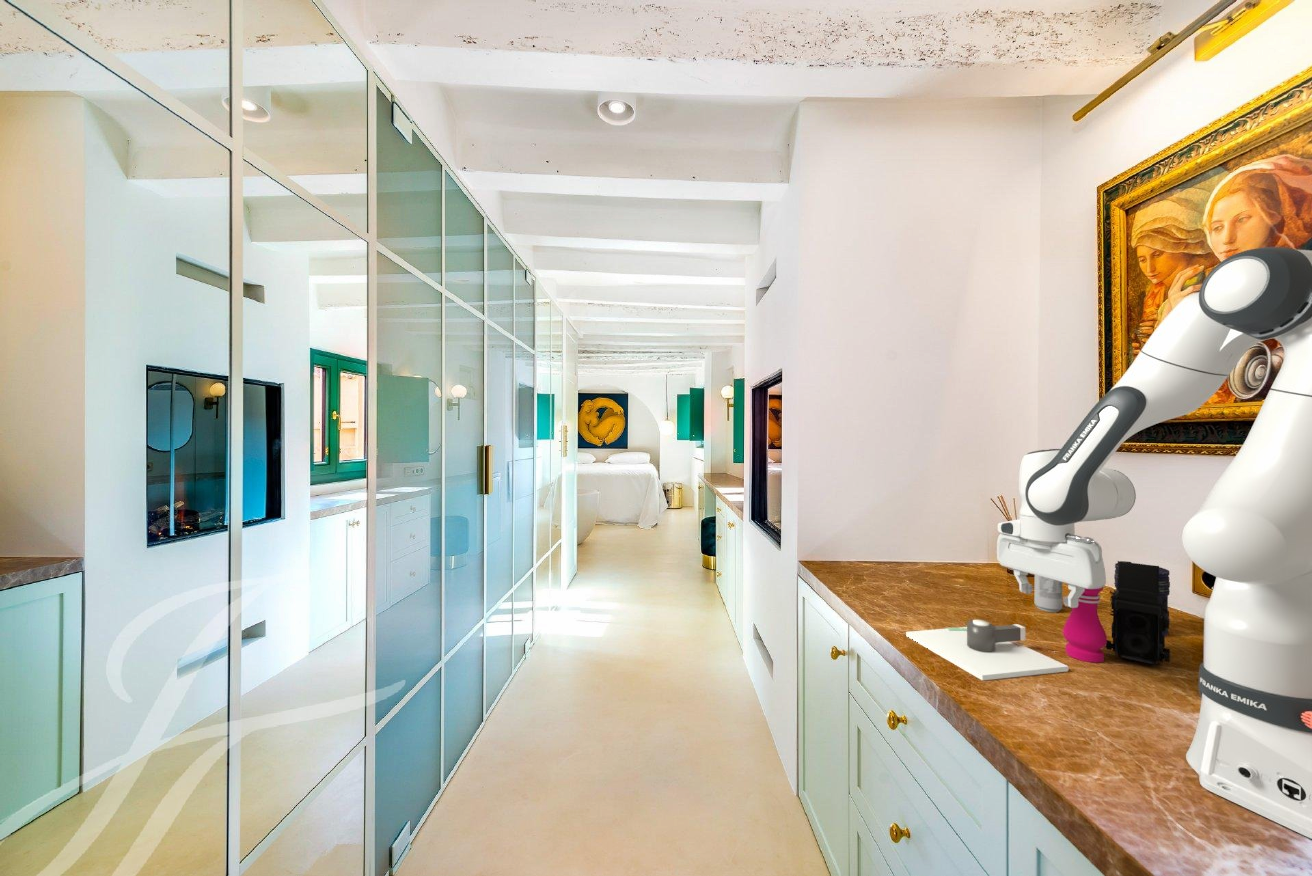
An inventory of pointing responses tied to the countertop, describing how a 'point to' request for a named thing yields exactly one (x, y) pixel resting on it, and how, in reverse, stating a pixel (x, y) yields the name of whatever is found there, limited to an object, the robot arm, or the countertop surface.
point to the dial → (991, 634)
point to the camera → (1138, 615)
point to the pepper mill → (1085, 629)
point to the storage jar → (1163, 589)
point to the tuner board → (986, 655)
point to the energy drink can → (1048, 594)
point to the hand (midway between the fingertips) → (1047, 599)
